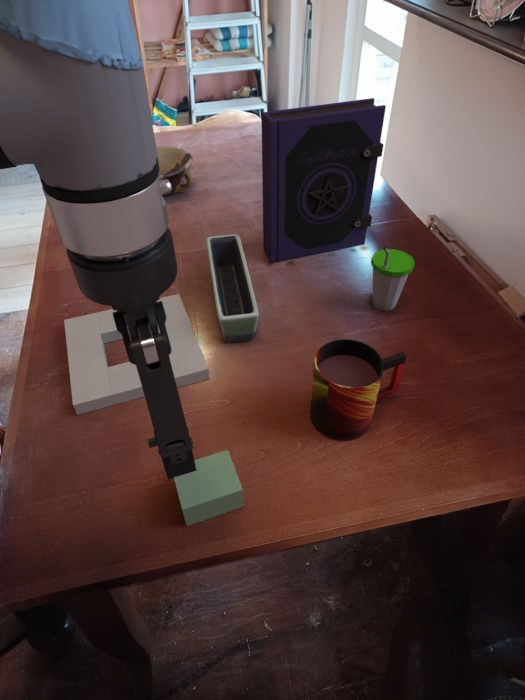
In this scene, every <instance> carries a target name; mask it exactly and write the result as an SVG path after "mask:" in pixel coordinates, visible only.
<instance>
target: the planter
mask: <svg viewBox="0 0 525 700" xmlns="http://www.w3.org/2000/svg"><path fill="white" fill-rule="evenodd" d="M205 240H206V249H207V256H208V262H209V263H208V264H209V269H210V275H211V281H212V282H211V283H212V288H213V295H214V301H215V307H216V313H217V318H218V322H219V325H220V328H221V331H222V334H223V337H224V339H225V342H226V343H227V344H231V343H232V344H233V343H239V342H240V343H241V342H242V343H243V342H249V341H253V340H254V338H255V334H256V330H257V327H258V323H259V314H260V313H259V308H258V304H257V300H256V295H255V291H254V287H253V283H252V279H251V275H250V272H249V268H248V264H247V259H246V255H245V251H244V248H243V244H242V240H241V236H240V235H239V234H237V233H236V234H235V233H234V234H232V233H231V234H224V235H223V234H222V235H213V236H208V237H206V239H205Z"/></svg>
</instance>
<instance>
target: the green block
mask: <svg viewBox="0 0 525 700" xmlns="http://www.w3.org/2000/svg"><path fill="white" fill-rule="evenodd" d="M232 459H233V458H232V457H231V454H230V451H229V450H228V449H226V450H222V451H220V452H216V453H213V454H210V455H207V456H203V457H200V458H197V459H194V461H195V465H196V471H193V472H190V473H187V474H184V475H181V476H178V477H175V478H173V480H174V485H175V487H176V488H175V490H176V493H177V496H178V500H179V503H180V508H181V511H182V512H181V513H182V515H183V518H184V522H185V526H186V527H190V526H192V525H195V524H197V523H201V522H203V521H206V520H209V519H212V518H215V517H217V516H218V517H219V516H220V515H223V514H226V513H229V512H232V511H235V510H238V509H241V508H244V507H245V500H244V499H245V498H244V489H243V486H242V483H241V480H240V479H239V475H238V472H237V470H236V467H235V464H234V462H233V460H232Z"/></svg>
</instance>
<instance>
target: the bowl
mask: <svg viewBox="0 0 525 700" xmlns="http://www.w3.org/2000/svg"><path fill="white" fill-rule="evenodd" d="M156 150H157V156H158V162H159V168H160V170H159V172H160V176H161V180H164V179H167V180H169V182H170V183H171V185H172V191H171V193H169V194H165V195H162V197H163V198H164V197H170V196H172V195H174V194H177V193H181V192H185V191H188V190H189V189H190V188H191V187H192V186H193V181H194V180H193V176H192V174H191V170H190V169H191V167H192V164H193V156H192V154H191V153H190V152H189V151H188V150H186V149H184V148H181V147H177V146H170V145H156ZM183 177H184V178H185V180H186V183H184V184H183V183H181V181H182V179H183Z"/></svg>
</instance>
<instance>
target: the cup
mask: <svg viewBox="0 0 525 700" xmlns="http://www.w3.org/2000/svg"><path fill="white" fill-rule="evenodd" d="M370 264H371V266H372V305H373V308H375V309H377V310H378V311H382V312H391V311H393V310H395V308H396V306H397V304H398V301H399V299H400V297H401V294H402V291H403V290H404V286H405V284H406V281H407V280H408V278H409V277H408V276H409V274H411V273H412V272H413V270H414V268H415V264H416V261H415V260H414V257H413V256H412V255H410V254H409V253H408V252H405V251H403V250H399V249H394V248H387V247H386V246H384V247H382V249H381V250H379V251H375V252H374V254H373V255H372V257H371V260H370Z"/></svg>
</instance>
